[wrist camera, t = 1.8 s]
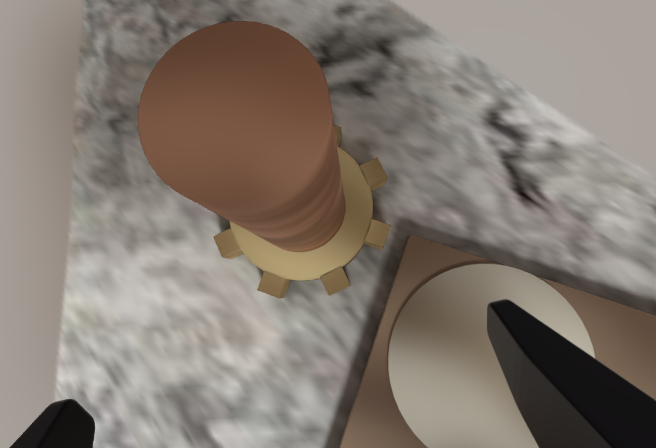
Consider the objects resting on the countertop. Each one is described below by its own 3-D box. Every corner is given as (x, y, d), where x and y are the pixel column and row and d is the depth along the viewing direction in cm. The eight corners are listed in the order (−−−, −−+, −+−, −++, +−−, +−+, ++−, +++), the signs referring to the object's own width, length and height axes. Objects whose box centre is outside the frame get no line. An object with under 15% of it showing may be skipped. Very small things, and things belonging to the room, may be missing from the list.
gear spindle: (357, 324, 21) (355, 372, 8) (195, 265, 22) (-18, 231, 9) (412, 160, 22) (481, -10, 9) (255, 111, 23) (135, -99, 11)
